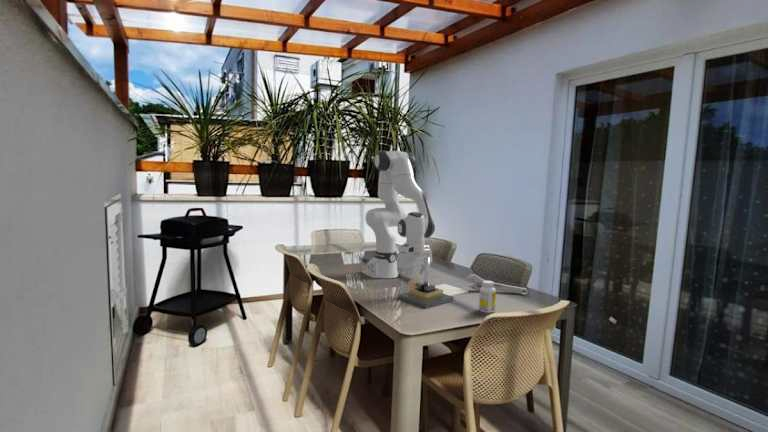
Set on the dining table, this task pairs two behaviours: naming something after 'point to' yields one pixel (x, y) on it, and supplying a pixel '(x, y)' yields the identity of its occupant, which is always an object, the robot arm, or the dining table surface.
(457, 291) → the pad
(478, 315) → the dining table surface
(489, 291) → the supplement bottle
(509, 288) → the wrench
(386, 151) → the robot arm
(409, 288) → the collar
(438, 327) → the dining table surface
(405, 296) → the rod stand
